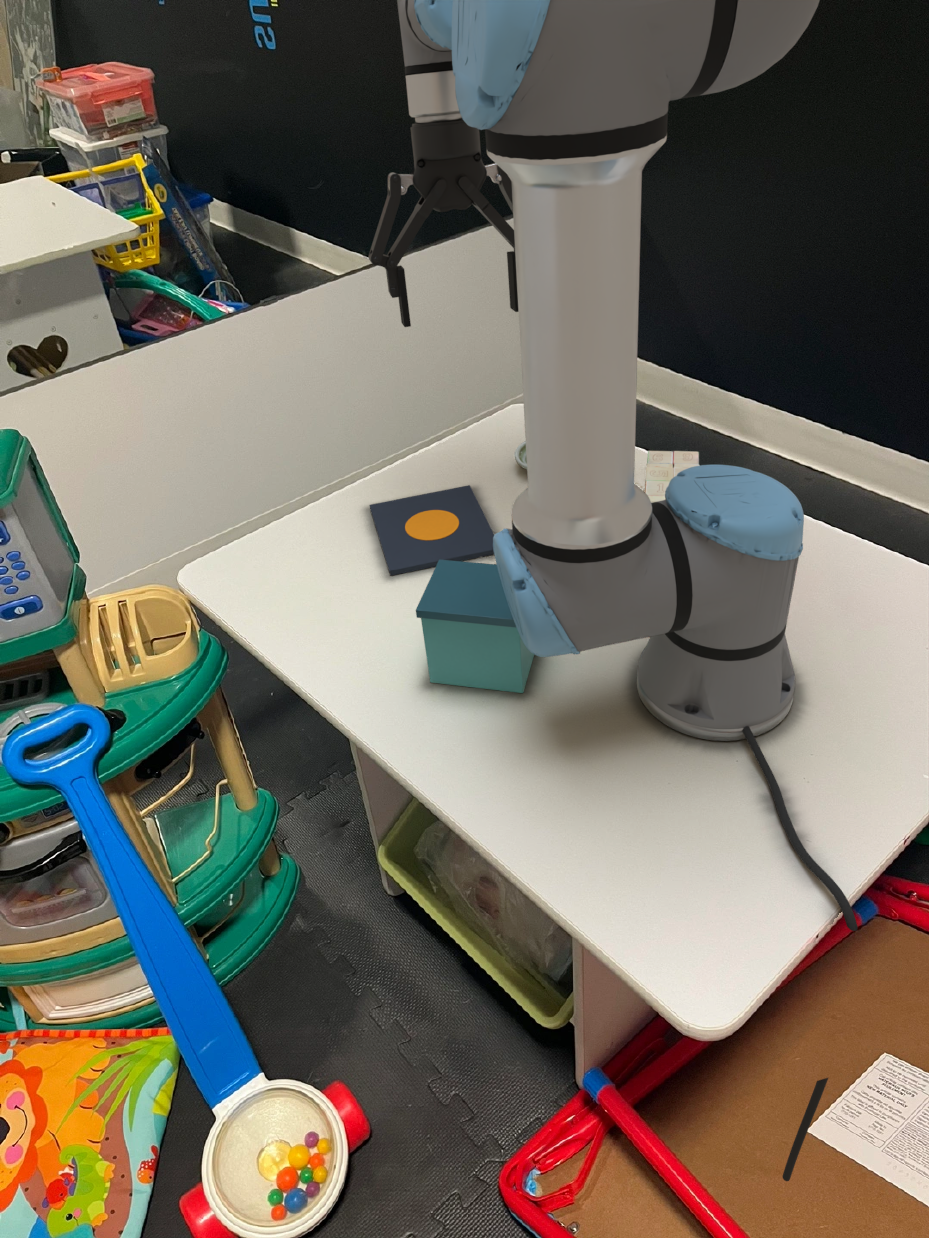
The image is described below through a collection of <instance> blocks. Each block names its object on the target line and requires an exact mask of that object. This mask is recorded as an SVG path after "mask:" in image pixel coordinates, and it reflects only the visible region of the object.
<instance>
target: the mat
mask: <svg viewBox="0 0 929 1238" xmlns="http://www.w3.org/2000/svg"><path fill="white" fill-rule="evenodd" d="M369 510H370V515H371V517H372V520H373V523H374V527H375V531H376V533H377V536H378V540H379V543H380V547H381V550H382V553H383V556H384V559H385V562H386V567H387V570H388V572H389V576H391V577H392V576H397V575H402V574H406V573H410V572H416V571H421V570H425V569H430V568H435V567H436V565H437V563H438V561H439V560H449V561H462V562H465V561H468V560H473V559H478V558H483V557H488V556H492V555H494V550H493V537H494V535H495V533H494V532H493V529H492V527H491V526H490V523H489V521H488V519H487V517H486V515H485V513H484V511H483V509H482V507H481V505H480V503H479V501H478V499H477V497H476V495H475V492H474V490H473V489H472V486H471V485H470V484H467V485H463V486H458V487H457V486H456V487H453V488H452V487H451V488H447V489H443V490H438V491H433V492H428V493H423V494H417V495H412V496H406V497H403V498H396V499H393V500H392V499H391V500H386V501H382V502H376V503H372V504H369Z"/></svg>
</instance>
